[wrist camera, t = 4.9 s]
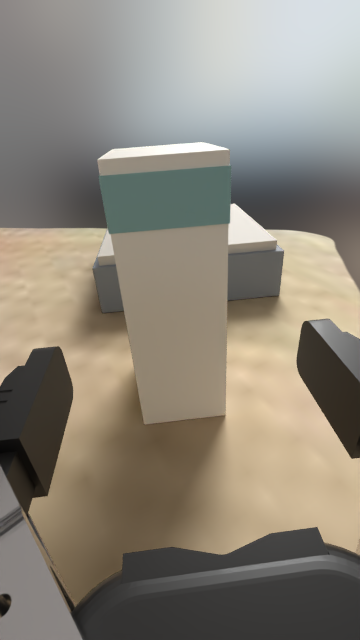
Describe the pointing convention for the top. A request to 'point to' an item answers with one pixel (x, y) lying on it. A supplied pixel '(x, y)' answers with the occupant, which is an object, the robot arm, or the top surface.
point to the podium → (243, 264)
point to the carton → (172, 271)
